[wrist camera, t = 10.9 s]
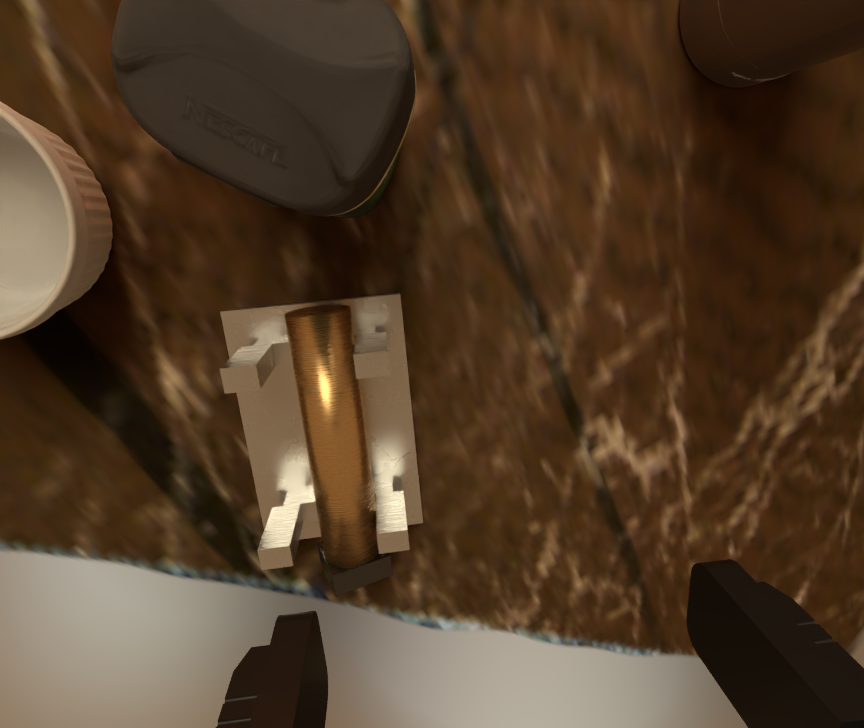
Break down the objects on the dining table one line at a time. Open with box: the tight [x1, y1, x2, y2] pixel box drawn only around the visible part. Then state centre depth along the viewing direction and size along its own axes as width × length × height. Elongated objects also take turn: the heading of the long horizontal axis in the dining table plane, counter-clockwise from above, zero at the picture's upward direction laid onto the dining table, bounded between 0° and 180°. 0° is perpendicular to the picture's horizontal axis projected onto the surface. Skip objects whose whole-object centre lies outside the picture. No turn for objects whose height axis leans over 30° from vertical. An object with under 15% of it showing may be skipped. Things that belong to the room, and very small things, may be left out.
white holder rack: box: [220, 292, 423, 570], centre depth 35 cm, size 18×12×7 cm, turn 5°
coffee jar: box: [111, 0, 416, 218], centre depth 24 cm, size 10×8×19 cm
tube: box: [284, 304, 393, 597], centre depth 35 cm, size 19×4×4 cm, turn 5°
